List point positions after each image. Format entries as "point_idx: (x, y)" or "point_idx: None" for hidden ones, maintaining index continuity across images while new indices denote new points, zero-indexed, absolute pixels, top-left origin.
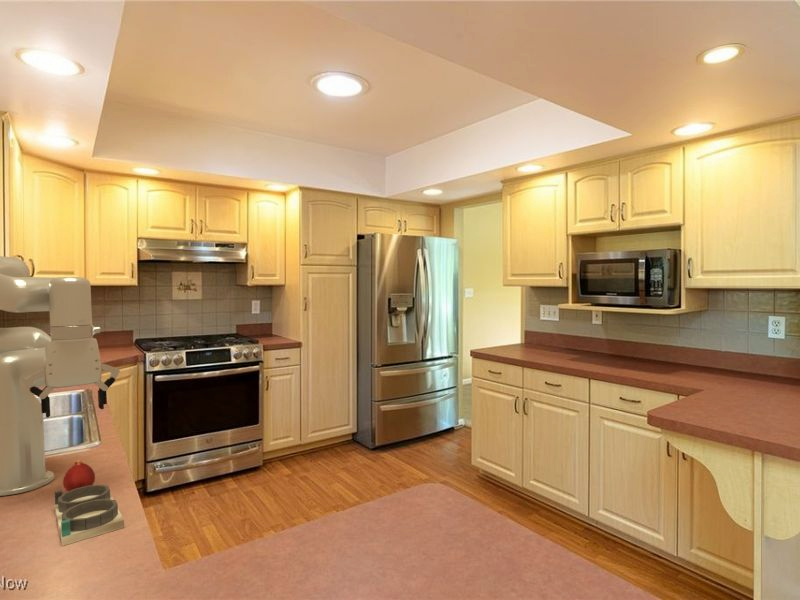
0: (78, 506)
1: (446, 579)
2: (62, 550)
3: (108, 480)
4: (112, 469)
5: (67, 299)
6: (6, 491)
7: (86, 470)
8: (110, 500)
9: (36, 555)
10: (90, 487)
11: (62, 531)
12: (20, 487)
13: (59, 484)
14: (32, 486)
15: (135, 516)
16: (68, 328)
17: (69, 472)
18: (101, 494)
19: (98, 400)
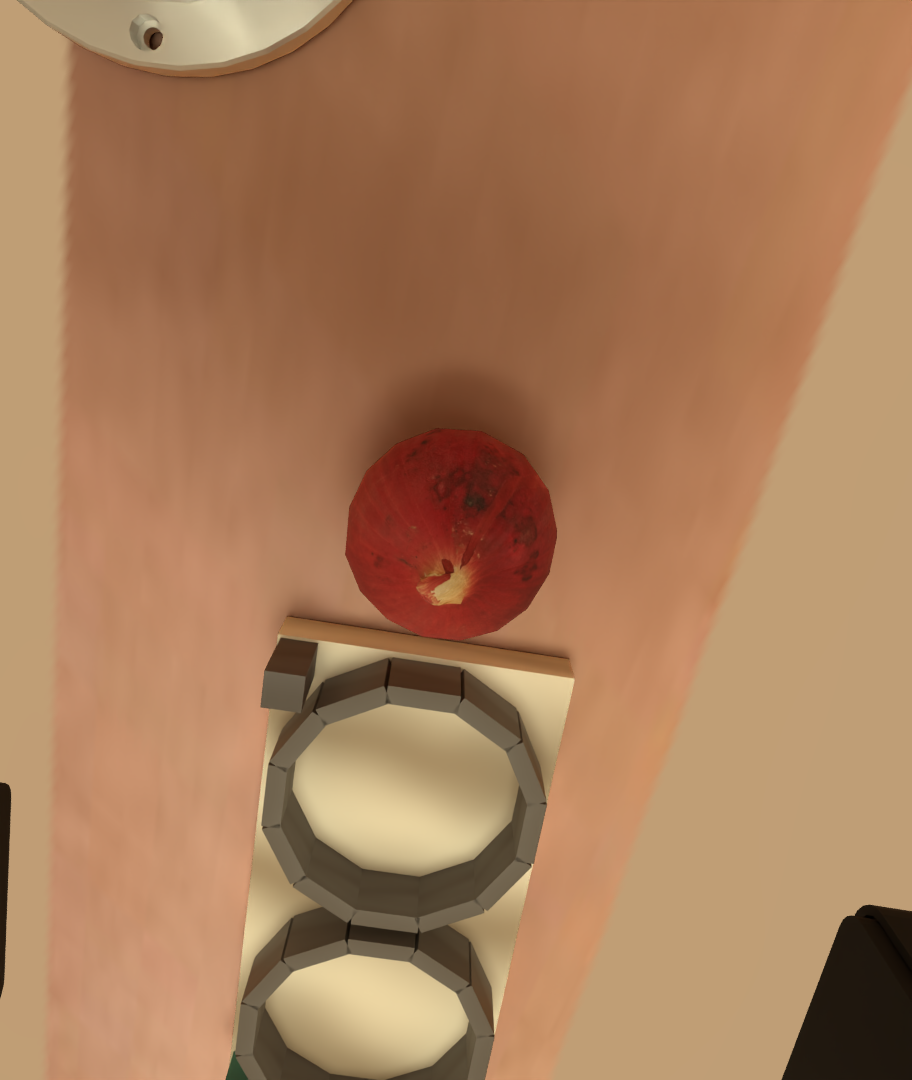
0: (332, 954)
1: None
2: None
3: (684, 346)
4: (817, 80)
5: None
6: (52, 25)
7: (486, 627)
8: (475, 1018)
9: (146, 1043)
10: (466, 719)
11: None
12: (146, 17)
13: (412, 100)
14: (225, 68)
15: (558, 1006)
16: None
17: (376, 583)
18: (469, 906)
19: (903, 1068)
